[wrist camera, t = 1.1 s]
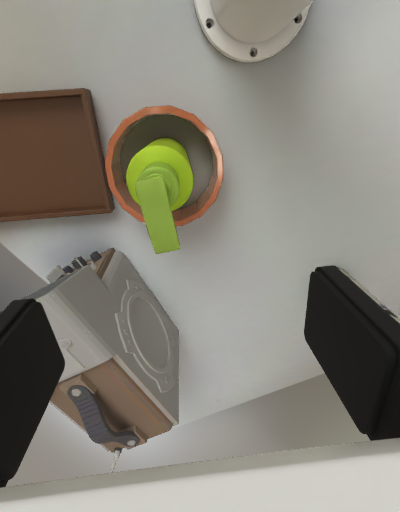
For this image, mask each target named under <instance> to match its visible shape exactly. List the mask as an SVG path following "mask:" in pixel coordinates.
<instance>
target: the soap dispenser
mask: <svg viewBox="0 0 400 512" xmlns="http://www.w3.org/2000/svg"><path fill="white" fill-rule="evenodd" d="M126 182H127V187H128V190H129V192H130V194H131V196H132V198H133V199H134V200H135V201H136V202H137V203H138V204H139V205H140V206H141V209H142V213H143V216H144V220H145V223H146V227H147V230H148V233H149V236H150V239H151V242H152V245H153V248H154V250H155V253H156V254H159V253H164V252H169V251H174V250H179V249H180V243H179V239H178V235H177V231H176V227H175V223H174V219H173V215H172V211H174V210H176V209H178V208H180V207H181V206H182V205H183V204H184V203H185V202H186V201H187V200H188V198H189V196H190V194H191V192H192V188H193V174H192V170H191V166H190V163H189V159H188V155H187V153H186V151H185V149H184V147H183V146H182V145H181V144H180V143H179V142H177V141H175V140H173V139H170V138H160V139H157V140H155V141H153V142H152V143H150V144H149V145H147V146H146V147H145V148H143V149H142V150H140V151H139V152H138V153H137V154H136V155H135V156H134V157H133V158H132V160H131V161H130V163H129V165H128V168H127V174H126Z"/></svg>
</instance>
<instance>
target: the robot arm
mask: <svg viewBox="0 0 400 512" xmlns="http://www.w3.org/2000/svg"><path fill="white" fill-rule="evenodd" d="M313 1H314V0H194V5H195V10H196V15H197V18H198V21H199V23H200V26H201V28H202V30H203V32H204V34H205V35H206V37H207V39H208V40H209V41H210V43H211V44H212V45H213V46H214V47H215V49H217V50H218V51H219V52H220V53H222V54H223V55H224V56H226V57H228V58H230V59H232V60H235V61H239V62H244V63H246V62H258V61H262V60H265V59H267V58H270V57H272V56H274V55H275V54H277V53H278V52H280V51H281V50H282V49H283V48H284V47H286V46H287V45H288V44H289V43H290V42H291V41H292V39H293V38H294V37H295V36H296V34H297V33H298V32H299V30H300V28H301V27H302V25H303V23H304V21H305V19H306V16H307V14H308V11H309V9H310V6H311V3H312V2H313ZM294 18H296V19H297V23H295V21H294ZM208 23H210V24H211V28H208V27H207V24H208ZM251 51H252V52H253V53H254V56H251V55H250V52H251ZM304 335H305V339H306V342H307V343H308V345H309V347H310V348H311V350H312V352H313V354H314V355H315V357H316V359H317V360H318V362H319V364H320V365H321V367H322V369H323V370H324V372H325V374H326V375H327V377H328V379H329V380H330V382H331V384H332V386H333V387H334V389H335V391H336V392H337V394H338V396H339V397H340V399H341V401H342V403H343V404H344V406H345V408H346V409H347V411H348V413H349V414H350V416H351V418H352V419H353V421H354V423H355V424H356V426H357V428H358V429H359V431H360V432H361V433H363V434H367V435H368V437H369V439H370V441H365V442H355V443H346V444H337V445H328V446H320V447H312V448H303V449H295V450H287V451H279V452H272V453H263V454H255V455H246V456H239V457H231V458H222V459H215V460H207V461H199V462H191V463H184V464H175V465H168V466H160V467H152V468H145V469H137V470H129V471H121V472H114V473H106V474H98V475H91V476H84V477H76V478H69V479H61V480H54V481H46V482H39V483H31V484H24V485H16V486H9V487H5V486H6V484H7V482H8V480H9V479H11V478H13V477H14V475H15V474H16V472H17V470H18V468H19V466H20V464H21V461H22V459H23V457H24V455H25V453H26V451H27V449H28V446H29V444H30V442H31V440H32V438H33V436H34V433H35V431H36V429H37V427H38V425H39V423H40V421H41V418H42V416H43V414H44V412H45V410H46V408H47V405H48V403H49V401H50V399H51V397H52V395H53V393H54V390H55V388H56V386H57V384H58V382H59V380H60V378H61V375H62V373H63V371H64V368H65V359H64V357H63V354H62V352H61V349H60V347H59V344H58V342H57V340H56V337H55V335H54V332H53V330H52V327H51V325H50V323H49V320H48V318H47V315H46V313H45V310H44V308H43V306H42V304H41V303H40V302H37V301H36V300H35V299H33V298H30V299H21V300H14V301H12V302H11V303H10V304H9V305H8V306H7V307H6V308H5V309H4V311H3V312H2V313H1V314H0V512H400V323H399V322H397V321H396V320H395V319H394V318H393V317H392V316H391V315H390V314H389V313H387V312H386V311H385V310H384V309H383V308H382V307H381V306H380V305H379V304H377V303H376V302H375V301H374V300H373V299H372V298H371V297H370V296H369V295H367V294H366V293H365V292H364V291H363V290H362V289H361V288H360V287H358V286H357V285H356V284H355V283H354V282H353V281H352V280H351V279H350V278H348V277H347V276H346V275H345V274H344V273H343V272H342V271H341V270H340V269H338V268H337V267H336V266H323V267H317V268H316V269H315V272H312V273H311V275H310V282H309V292H308V301H307V310H306V319H305V328H304Z"/></svg>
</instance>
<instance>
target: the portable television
mask: <svg viewBox="0 0 400 512" xmlns="http://www.w3.org/2000/svg"><path fill="white" fill-rule="evenodd" d="M90 257H91V259H89V260H87V261H85V260H84V259H83V258H82V257H81V256H80V257H78V258H74V259H75V260H73V261H72V264H73V266H74V268H71V267H70V266H66V267H64V268H63V269H62V268H61V267H60V266H57V267H56V268H55V269H54V270H53V271H52V272H51V273H50V274H49V275H47V276H46V278H47V279H48V280H49V281H50V282H51V283H50V284H48V285H46V286H44V287H42V288H41V289H39V290H37V291H35V292H33V293H31V294H29V295H27V296H25V297H23V298H21V299H30V298H33V299H35V300H36V301H37V302H40V303H41V304H42V306H43V308H44V310H45V313H46V315H47V318H48V320H49V323H50V325H51V327H52V330H53V332H54V335H55V337H56V340H57V342H58V344H59V347H60V349H61V352H62V354H63V357H64V359H65V368H64V371H63V373H62V375H61V378H60V380H59V382H58V384H57V386H56V388H55V390H54V393H53V395H52V397H51V399H50V401H49V402H50V403H51V404H52V405H54V406H55V407H56V408H57V409H58V410H59V411H61V412H62V413H63V414H64V415H65V416H67V417H68V418H69V419H70V420H71V421H73V422H74V423H75V424H76V425H77V426H79V427H80V428H81V429H82V430H83V431H84V432H86V433H87V434H88V435H89V437H90V438H91V439H92V441H94V442H95V443H98V444H100V445H101V446H103V447H104V448H105V449H106V450H107V451H111V452H114V459H113V462H112V465H111V467H110V470H109V473H112V472H113V469H114V466H115V464H116V461H117V459H118V458H119V456H120V453H121V450H122V449H123V448H127V449H131V448H133V447H136V446H138V445H141V444H144V443H146V442H147V439H149V438H152V437H154V436H157V435H159V434H162V433H165V432H167V431H169V430H170V429H171V428H172V426H174V425H177V424H179V345H178V329H177V328H176V326H175V325H174V324H173V322H172V321H171V319H170V318H169V316H168V315H167V314H166V312H165V311H164V309H163V308H162V307H161V305H160V304H159V302H158V301H157V299H156V298H155V297H154V295H153V294H152V292H151V291H150V290H149V288H148V287H147V285H146V284H145V282H144V281H143V280H142V278H141V277H140V275H139V274H138V273H137V271H136V270H135V268H134V267H133V266H132V264H131V263H130V261H129V260H128V258H127V257H126V256H125V255H124V254H123V253H122V252H120V251H115V250H114V248H111V249H109V250H107V251H105V252H103V253H101V254H99V253H98V252H97V251H96V252H93V253H92V254H91V255H90ZM21 299H20V300H21ZM3 311H4V310H2V311H1V312H0V314H1V313H2V312H3Z"/></svg>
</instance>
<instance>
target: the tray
mask: <svg viewBox="0 0 400 512" xmlns="http://www.w3.org/2000/svg"><path fill="white" fill-rule="evenodd" d="M113 210H114V204H113V199H112V194H111V190H110V188H109V183H108V178H107V174H106V169H105V160H104V156H103V151H102V146H101V141H100V136H99V132H98V127H97V122H96V117H95V112H94V107H93V103H92V98H91V93H90V90H88V89H85V88H79V89H64V90H49V91H34V92H19V93H3V94H0V222H5V221H17V220H29V219H41V218H54V217H66V216H78V215H90V214H102V213H111V212H112V211H113Z"/></svg>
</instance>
